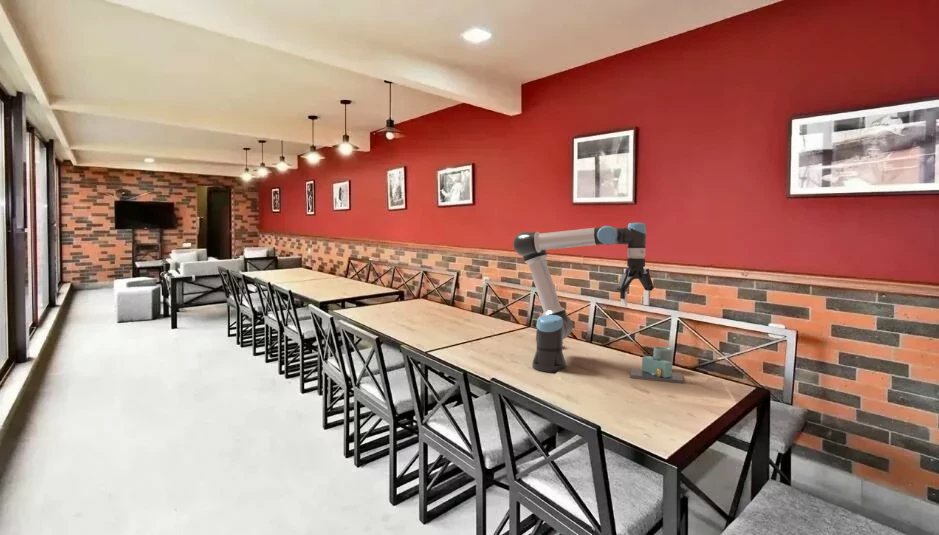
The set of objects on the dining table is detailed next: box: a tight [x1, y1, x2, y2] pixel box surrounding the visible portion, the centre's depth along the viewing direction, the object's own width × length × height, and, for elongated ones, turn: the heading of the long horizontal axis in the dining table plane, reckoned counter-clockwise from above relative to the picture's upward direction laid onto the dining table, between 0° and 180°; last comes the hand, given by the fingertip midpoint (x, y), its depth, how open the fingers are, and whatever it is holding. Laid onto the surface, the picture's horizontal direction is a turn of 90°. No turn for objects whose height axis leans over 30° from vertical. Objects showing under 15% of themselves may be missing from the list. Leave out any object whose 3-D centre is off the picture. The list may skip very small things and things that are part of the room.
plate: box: [629, 367, 684, 384], centre depth 190 cm, size 20×12×5 cm, turn 69°
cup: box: [652, 346, 674, 363], centre depth 199 cm, size 8×8×10 cm
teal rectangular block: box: [641, 355, 673, 378], centre depth 189 cm, size 12×4×7 cm, turn 25°
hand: (635, 305), depth 200 cm, fingers open, 13 cm apart
